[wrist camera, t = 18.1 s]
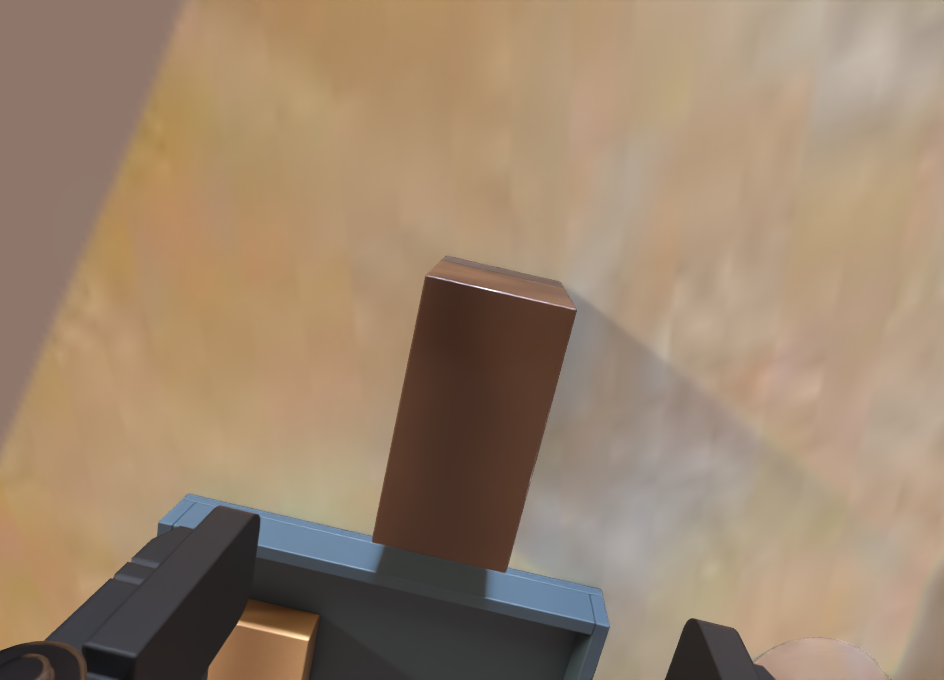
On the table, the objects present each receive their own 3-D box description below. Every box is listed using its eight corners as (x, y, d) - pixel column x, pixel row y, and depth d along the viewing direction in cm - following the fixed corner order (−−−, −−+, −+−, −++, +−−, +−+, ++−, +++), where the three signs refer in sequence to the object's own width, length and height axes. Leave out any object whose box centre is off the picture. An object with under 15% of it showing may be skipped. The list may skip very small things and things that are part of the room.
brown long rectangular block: (561, 281, 23) (577, 309, 17) (506, 492, 25) (505, 574, 20) (445, 255, 23) (425, 274, 17) (400, 467, 25) (371, 543, 20)
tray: (601, 589, 26) (610, 626, 23) (533, 804, 29) (535, 856, 26) (188, 493, 26) (157, 521, 24) (163, 717, 29) (134, 761, 27)
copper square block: (320, 613, 26) (308, 640, 25) (307, 687, 27) (295, 717, 26) (231, 593, 26) (214, 619, 25) (221, 668, 27) (204, 696, 26)
